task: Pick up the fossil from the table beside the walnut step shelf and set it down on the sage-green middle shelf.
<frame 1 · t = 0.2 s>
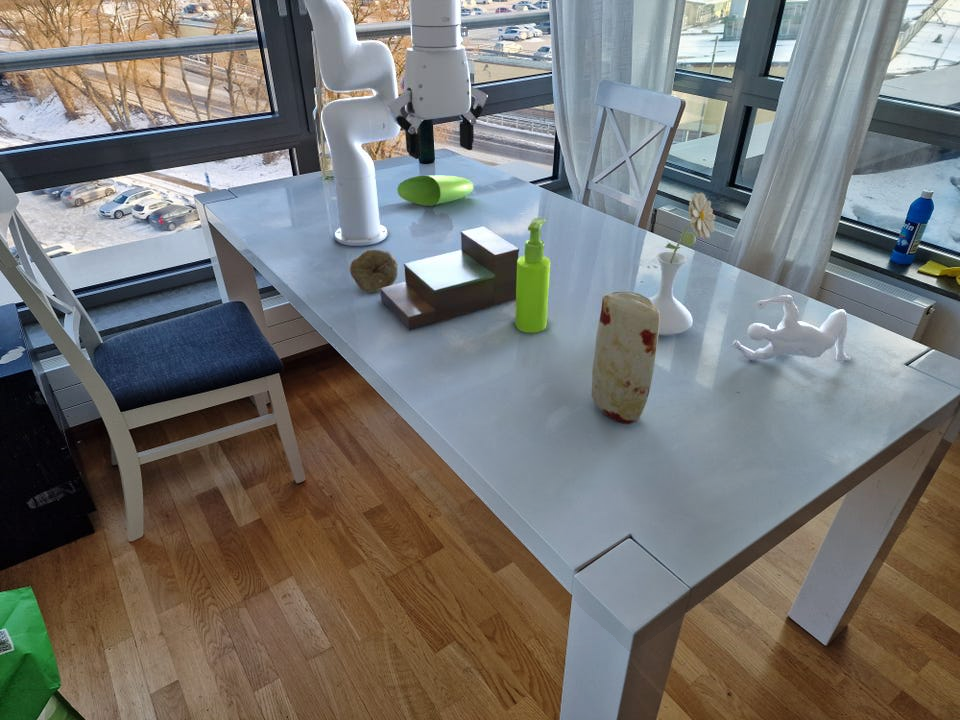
hand: (440, 152, 105), 31 cm above the table, tool pointing down, fingers open, 9 cm apart
soap dispenser: (531, 324, 119), on the table
step shelf: (449, 300, 127), on the table
food model: (616, 413, 97), on the table
flower in vase: (662, 325, 119), on the table
fossil: (376, 285, 133), on the table
green rounded oblong: (440, 202, 175), on the table
person figurine: (788, 361, 109), on the table
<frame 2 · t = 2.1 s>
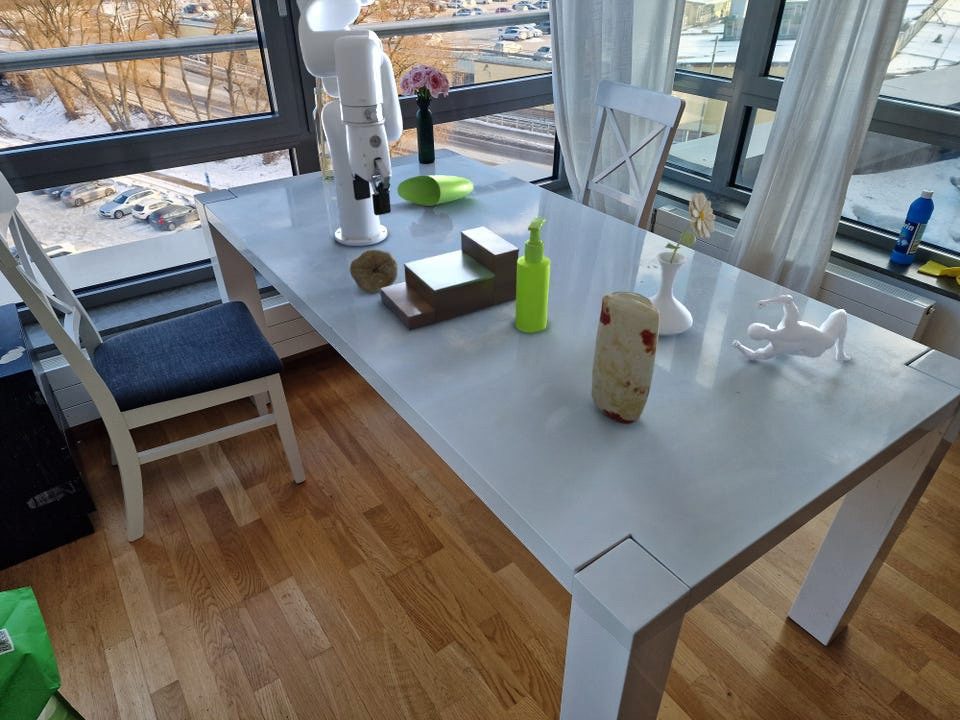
hand: (372, 206, 122), 18 cm above the table, tool pointing down, fingers open, 9 cm apart
nothing on the table moved.
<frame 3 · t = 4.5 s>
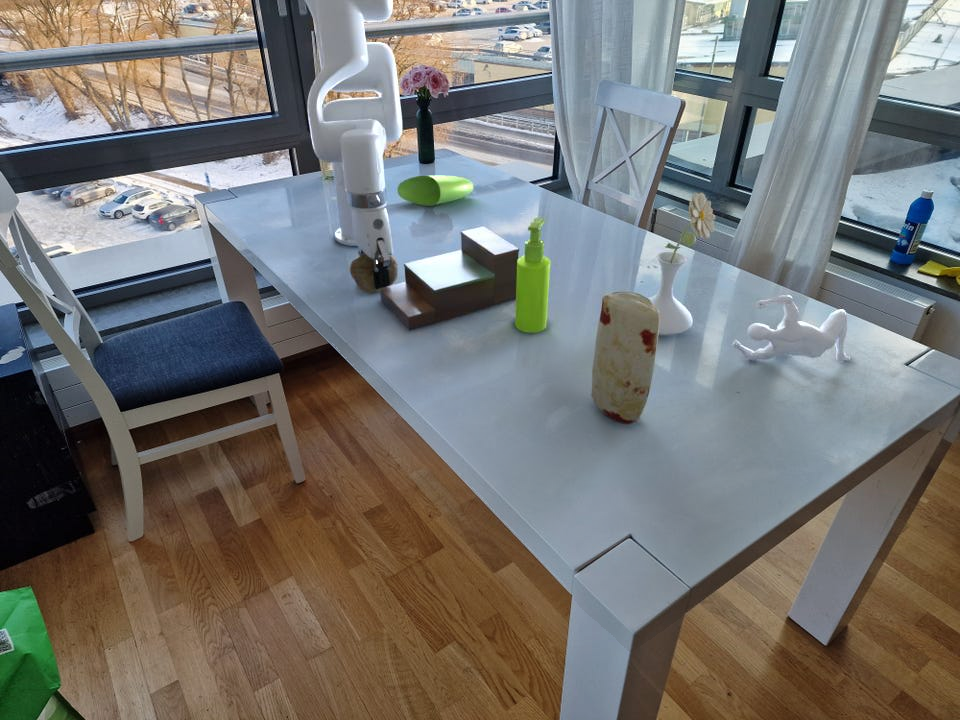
hand: (375, 279, 132), 1 cm above the table, tool pointing down, fingers closed on fossil, 6 cm apart
fossil: (376, 285, 133), on the table, touching gripper
everything else where it was.
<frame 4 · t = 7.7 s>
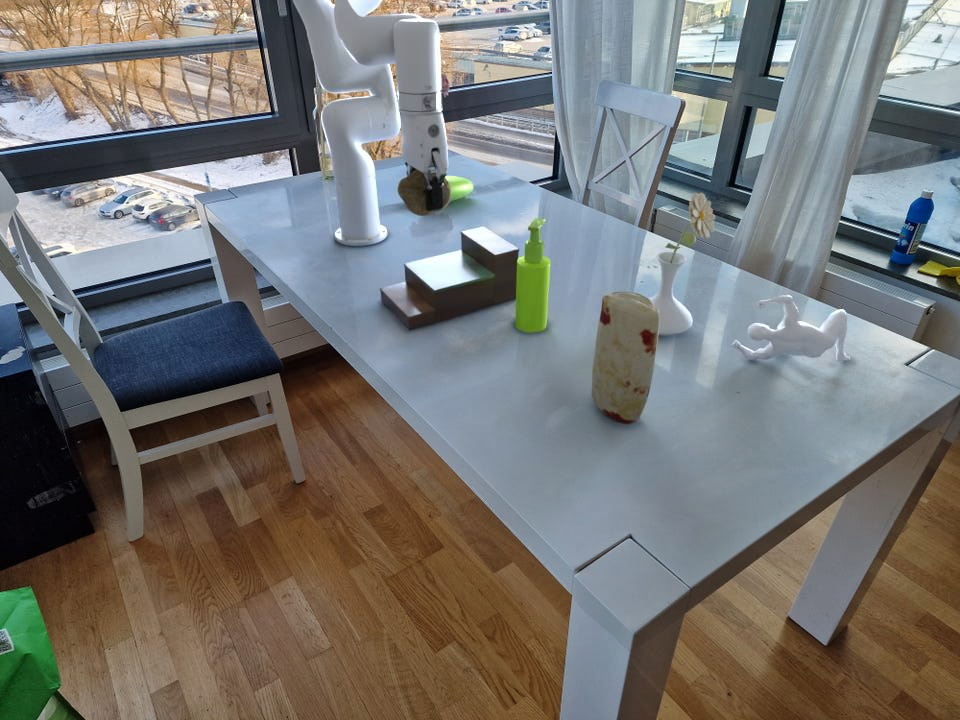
hand: (425, 202, 117), 20 cm above the table, tool pointing down, fingers closed on fossil, 6 cm apart
fossil: (426, 210, 118), point 18 cm above the table, touching gripper
everything else where it was.
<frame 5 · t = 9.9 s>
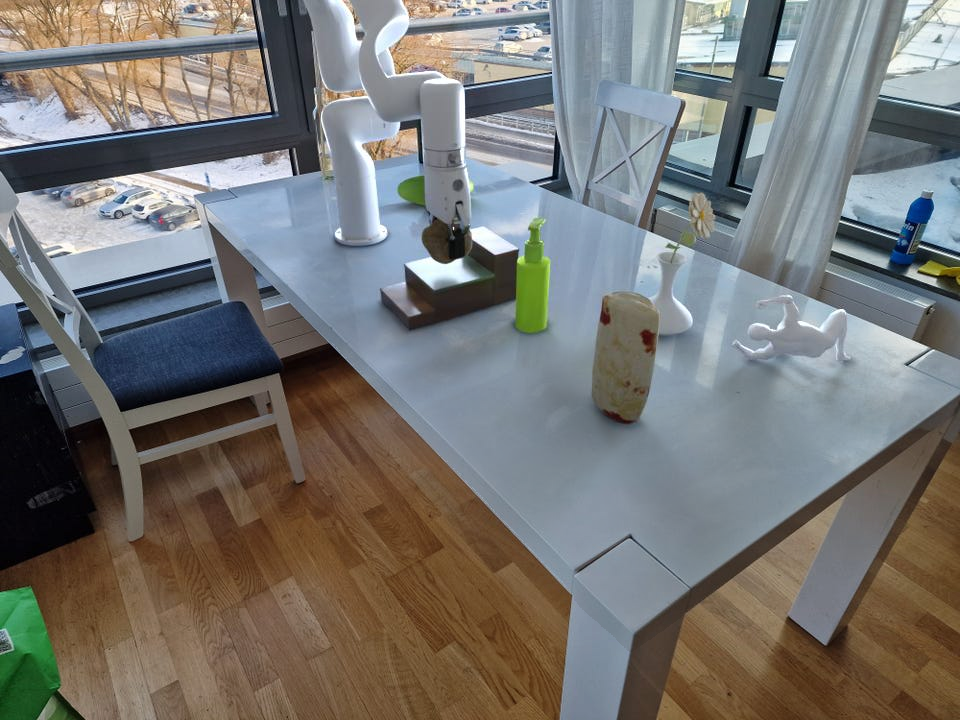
hand: (447, 249, 121), 11 cm above the table, tool pointing down, fingers closed on fossil, 6 cm apart
fossil: (448, 257, 121), point 10 cm above the table, touching gripper
everything else where it was.
when the fingers open (8 cm above the table, at t = 11.2 s): fossil stays where it is, resting on step shelf.
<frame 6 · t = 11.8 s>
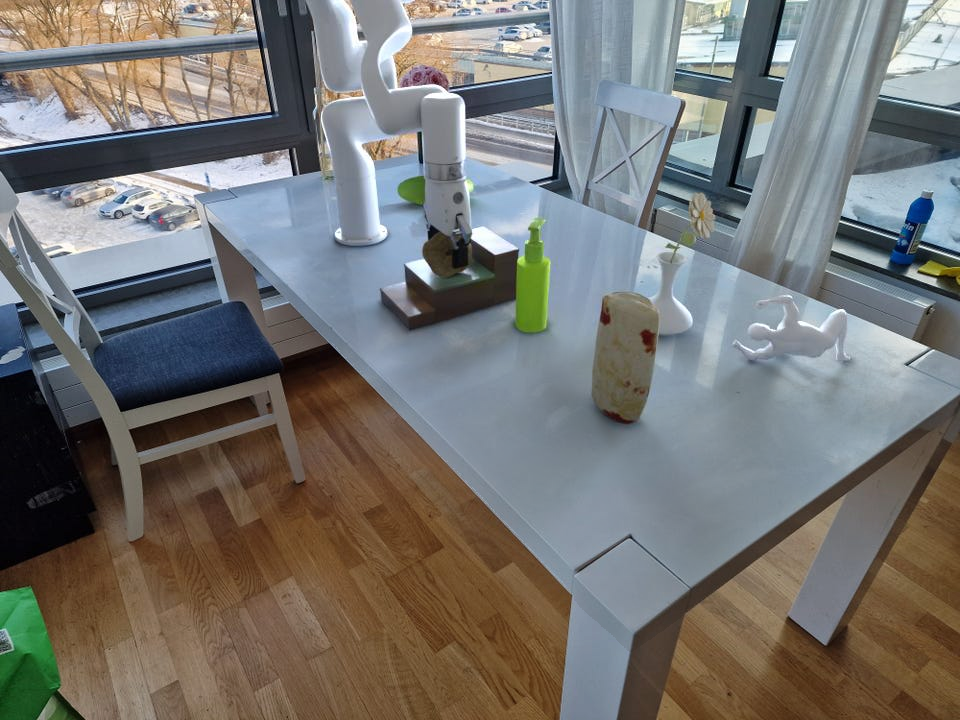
hand: (447, 257, 122), 9 cm above the table, tool pointing down, fingers open, 9 cm apart
fossil: (448, 270, 123), point 7 cm above the table, touching step shelf
everything else where it was.
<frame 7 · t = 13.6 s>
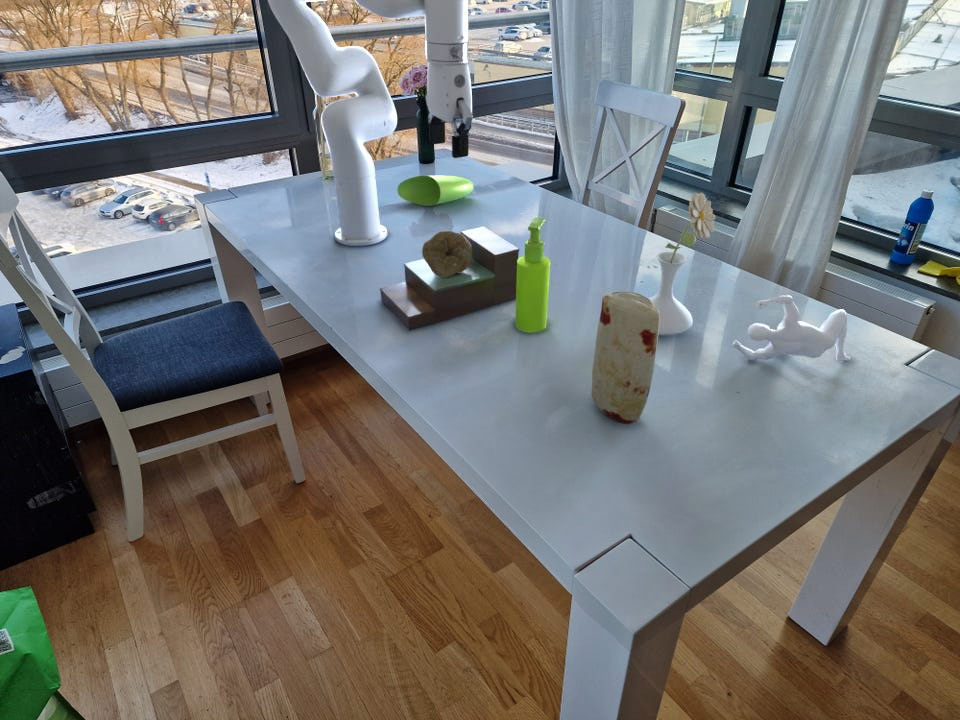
hand: (448, 149, 122), 27 cm above the table, tool pointing down, fingers open, 9 cm apart
nothing on the table moved.
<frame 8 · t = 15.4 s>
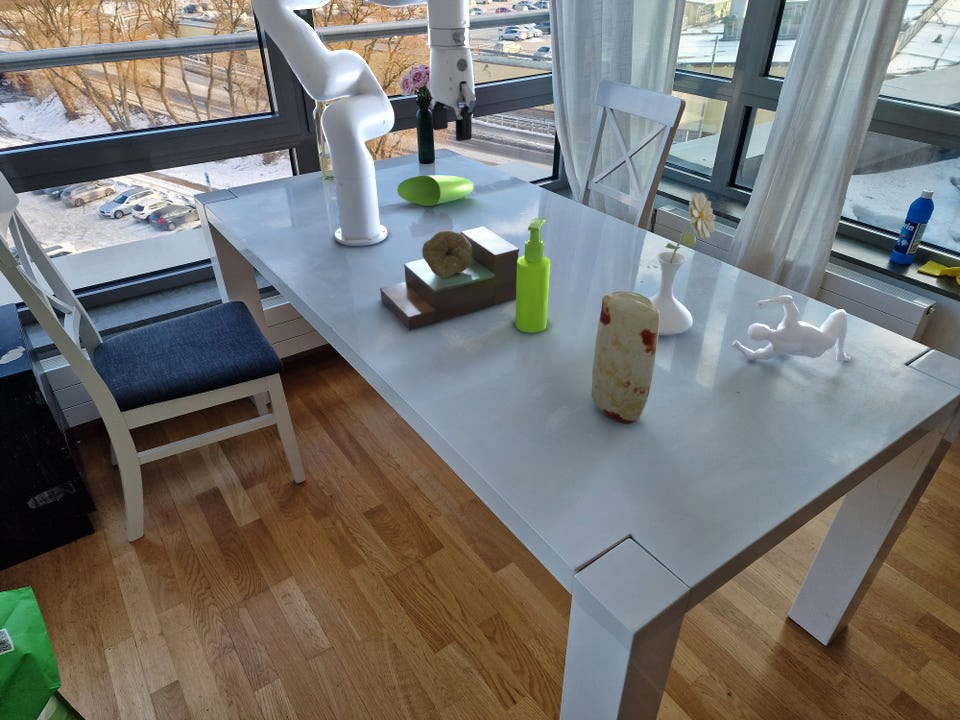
hand: (451, 134, 125), 28 cm above the table, tool pointing down, fingers open, 9 cm apart
nothing on the table moved.
at the end: fossil inside the target area on the step shelf (0.2 cm from its centre), point 6.8 cm above the step shelf's base; the gripper is holding nothing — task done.
